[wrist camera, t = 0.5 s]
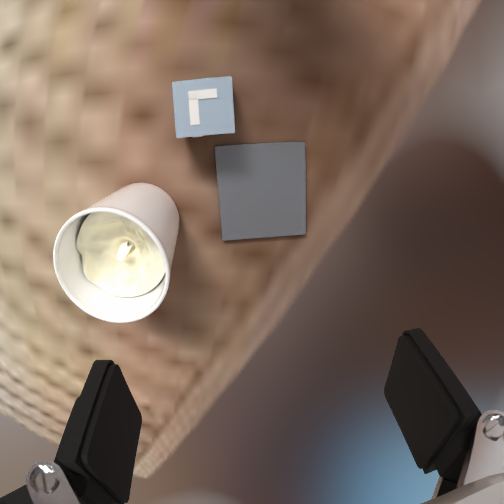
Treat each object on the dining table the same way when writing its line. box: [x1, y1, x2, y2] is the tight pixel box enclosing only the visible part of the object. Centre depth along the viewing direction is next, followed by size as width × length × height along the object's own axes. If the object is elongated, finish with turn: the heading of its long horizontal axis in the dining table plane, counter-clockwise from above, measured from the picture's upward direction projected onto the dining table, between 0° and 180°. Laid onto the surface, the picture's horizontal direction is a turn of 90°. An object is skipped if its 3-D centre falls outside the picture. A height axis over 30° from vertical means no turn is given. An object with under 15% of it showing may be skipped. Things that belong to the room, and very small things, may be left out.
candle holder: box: [53, 183, 179, 323], centre depth 28 cm, size 10×10×12 cm
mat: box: [215, 142, 306, 241], centre depth 33 cm, size 10×9×1 cm
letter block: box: [172, 76, 235, 138], centre depth 27 cm, size 5×5×5 cm
